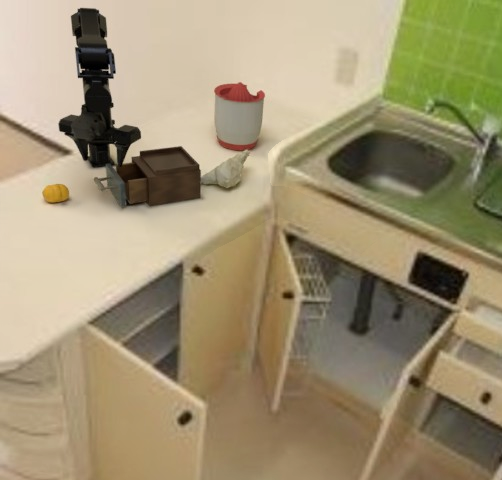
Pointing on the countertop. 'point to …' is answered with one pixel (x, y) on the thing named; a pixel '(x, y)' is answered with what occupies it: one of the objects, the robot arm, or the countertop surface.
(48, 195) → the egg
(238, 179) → the white conch shell
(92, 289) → the countertop surface
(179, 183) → the cabinet
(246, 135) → the citrus juicer
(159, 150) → the dark brown shallow tray
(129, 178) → the drawer
